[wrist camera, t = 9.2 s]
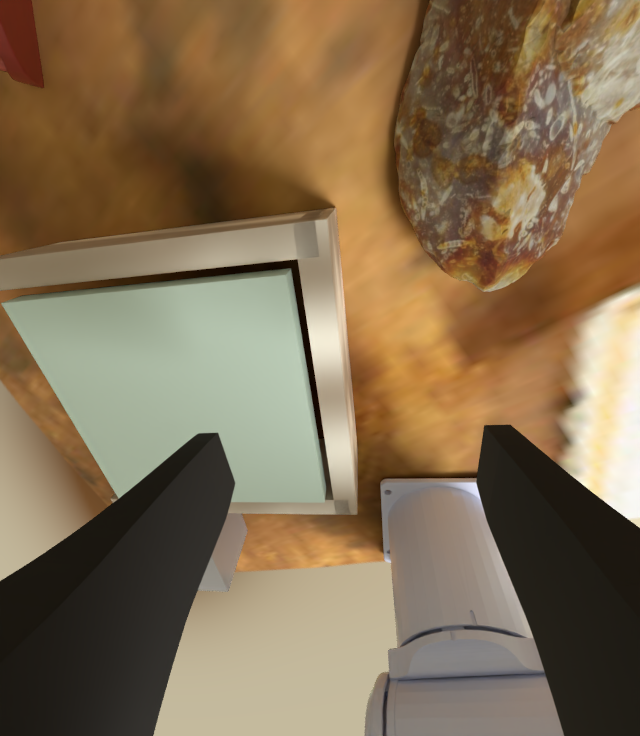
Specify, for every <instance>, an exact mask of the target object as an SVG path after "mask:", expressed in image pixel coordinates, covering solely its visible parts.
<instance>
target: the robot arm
mask: <svg viewBox="0 0 640 736" xmlns="http://www.w3.org/2000/svg"><path fill="white" fill-rule="evenodd" d="M234 487H235V480H234V477H233V474H232V472H231V469H230V466H229V463H228V460H227V457H226V454H225V451H224V448H223V445H222V443H221V440H220V437H219V434H218V433H198V434H197V435H195V436H194V437H193V438H191V439H190V440H189V441H188V442H186V443H185V444H184V445H183V446H182V447H180V448H179V449H178V450H177V451H176V452H174V453H173V454H172V455H171V456H170V457H169V458H167V459H166V460H165V461H164V462H163V463H161V464H160V465H159V466H158V467H157V468H155V469H154V470H153V471H152V472H151V473H149V474H148V475H147V476H146V477H145V478H143V479H142V480H141V481H140V482H139V483H137V484H136V485H135V486H134V487H133V488H131V489H130V490H129V491H128V492H126V493H125V494H124V495H123V496H121V497H120V498H119V499H117V500H116V501H115V502H114V503H112V504H111V505H110V506H108V507H107V508H106V509H105V510H104V511H102V512H101V513H100V514H98V515H97V516H96V517H94V518H93V519H92V520H90V521H89V522H88V523H86V524H85V525H84V526H82V527H81V528H80V529H78V530H77V531H75V532H74V533H73V534H71V535H70V536H68V537H67V538H66V539H64V540H63V541H61V542H60V543H58V544H57V545H55V546H54V547H52V548H51V549H50V550H48V551H47V552H46V553H44V554H42V555H41V556H39V557H38V558H36V559H35V560H33V561H32V562H30V563H29V564H27V565H26V566H24V567H22V568H21V569H19V570H18V571H16V572H14V573H13V574H11V575H9V576H8V577H6V578H5V579H3V580H1V581H0V736H153V734H154V730H155V726H156V723H157V719H158V715H159V711H160V708H161V704H162V700H163V697H164V693H165V690H166V687H167V683H168V679H169V676H170V672H171V669H172V665H173V662H174V659H175V655H176V652H177V649H178V646H179V642H180V639H181V636H182V632H183V629H184V626H185V622H186V620H187V617H188V614H189V611H190V609H191V606H192V603H193V600H194V598H195V595H196V593H197V591H198V588H199V586H200V583H201V581H202V578H203V576H204V573H205V571H206V568H207V566H208V563H209V561H210V558H211V556H212V553H213V551H214V548H215V546H216V543H217V541H218V538H219V536H220V533H221V531H222V528H223V526H224V523H225V520H226V518H227V514H228V510H229V507H230V503H231V499H232V495H233V491H234ZM380 488H381V508H382V528H383V548H384V560H385V561H386V562H389V563H391V569H392V583H393V595H394V607H395V620H396V633H397V646H398V648H394V649H389V650H388V659H389V672H383V673H381V674H380V675H379V676H378V678H377V680H376V682H375V685H374V687H373V689H372V691H371V693H370V696H369V699H368V703H367V709H366V718H365V736H640V528H639V527H638V526H636V525H635V524H634V523H632V522H631V521H629V520H628V519H627V518H625V517H624V516H623V515H621V514H620V513H619V512H617V511H616V510H614V509H613V508H612V507H610V506H609V505H608V504H607V503H605V502H604V501H603V500H601V499H600V498H599V497H597V496H596V495H595V494H594V493H592V492H591V491H590V490H588V489H587V488H586V487H585V486H583V485H582V484H581V483H580V482H578V481H577V480H576V479H575V478H573V477H572V476H571V475H570V474H568V473H567V472H566V471H565V470H564V469H562V468H561V467H560V466H559V465H558V464H556V463H555V462H554V461H553V460H552V459H550V458H549V457H548V456H547V455H546V454H544V453H543V452H542V451H541V450H540V449H538V448H537V447H536V446H535V445H534V444H533V443H531V442H530V441H529V440H528V439H527V438H526V437H524V436H523V435H522V434H521V433H520V432H518V431H517V430H516V429H515V428H514V427H512V426H511V425H484V432H483V438H482V445H481V452H480V459H479V466H478V473H477V478H413V479H384V480H382V481H381V483H380ZM387 490H388V491H387Z"/></svg>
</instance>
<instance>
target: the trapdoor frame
mask: <svg viewBox="0 0 640 736" xmlns="http://www.w3.org/2000/svg"><path fill="white" fill-rule="evenodd" d="M295 259H298V266H299V272H300V279H301V286H302V292H303V299H304V306H305V312H306V319H307V326H308V332H309V339H310V346H311V352H312V359H313V366H314V372H315V379H316V386H317V392H318V399H319V406H320V412H321V419H322V426H323V432H324V438H321V439H319V445H320V451H321V457H322V464H323V470H324V476H325V482H326V495H325V503H293V502H231V503H230V507H229V510H228V513H246V514H339V515H357V491H358V447H357V436H356V425H355V413H354V402H353V391H352V380H351V369H350V358H349V346H348V335H347V324H346V313H345V302H344V291H343V280H342V268H341V257H340V246H339V235H338V224H337V213H336V207H335V208H327V209H319V210H311V211H303V212H295V213H288V214H280V215H272V216H264V217H256V218H248V219H240V220H233V221H225V222H217V223H209V224H201V225H193V226H185V227H178V228H170V229H162V230H154V231H146V232H138V233H130V234H123V235H115V236H107V237H99V238H91V239H83V240H75V241H68V242H60V243H55V244H51V245H46V246H42V247H37V248H33V249H28V250H24V251H19V252H15V253H10V254H6V255H1V256H0V291H2V290H11V289H21V288H30V287H39V286H49V285H58V284H68V283H77V282H87V281H96V280H106V279H115V278H125V277H134V276H143V275H153V274H162V273H172V272H181V271H191V270H200V269H210V268H219V267H229V266H238V265H247V264H257V263H266V262H276V261H285V260H295ZM117 499H119V498H118V497H117V495H116V493H115V494H114V495H113V496H112V498H111V501H112V502H113V503H114V502H115V501H116V500H117Z"/></svg>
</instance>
